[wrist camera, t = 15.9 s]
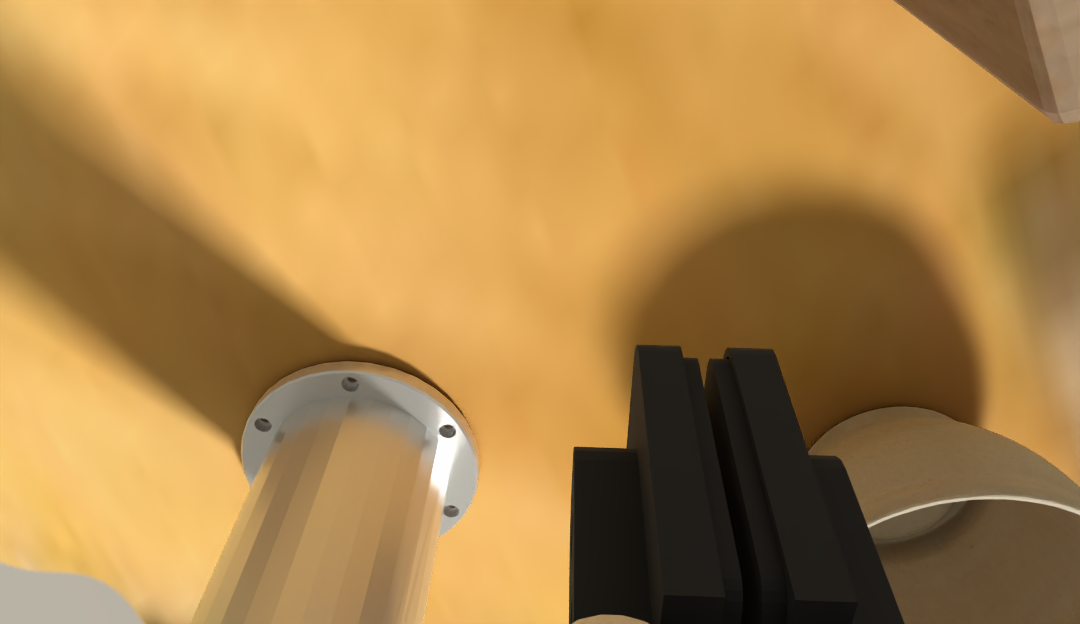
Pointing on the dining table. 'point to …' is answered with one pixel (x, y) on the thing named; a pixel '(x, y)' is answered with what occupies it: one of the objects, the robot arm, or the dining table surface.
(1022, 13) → the wooden block
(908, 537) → the planter bowl
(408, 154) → the dining table surface
